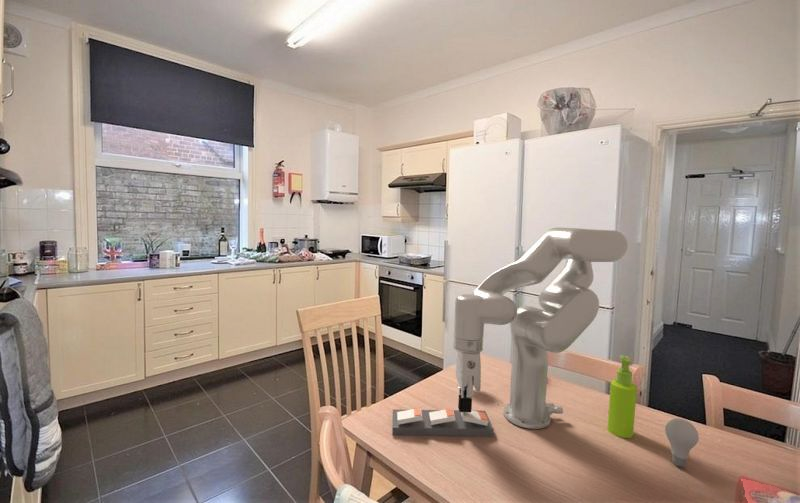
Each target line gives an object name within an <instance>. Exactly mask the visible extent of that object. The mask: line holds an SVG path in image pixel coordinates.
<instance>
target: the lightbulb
mask: <svg viewBox="0 0 800 503" xmlns="http://www.w3.org/2000/svg"><path fill="white" fill-rule="evenodd" d="M664 433H665V435H666V437H667V440H668V441H669V444H670V453H671V462H672V463H673V464H674V465H675V466H676V467H679V468H681V467H682V468H683V467H686V464H687V459H688V458H689V455H690V452H691V450H692V449H693V448H694V447H695V446H697V445H698V443H699V438H700V437H699V436H700V435H699V431H698V430H697V429H696V427H695V426H694V424H693V423H691V422H690V421H688V420H686V419H683V418H678V417H677V418H671V419H670V420H668V421H667V422H666V424H665V426H664Z"/></svg>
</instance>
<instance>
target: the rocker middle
mask: <svg viewBox="0 0 800 503" xmlns="http://www.w3.org/2000/svg"><path fill="white" fill-rule="evenodd" d="M439 410H440V411H434V412H429V415H430V421H431V425H434V424H440V423H445V422H450V421H455V415H454V412H453V410H454V409H453V407H449V408H446V409H439Z"/></svg>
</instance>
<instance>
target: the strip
mask: <svg viewBox="0 0 800 503" xmlns="http://www.w3.org/2000/svg"><path fill="white" fill-rule="evenodd" d="M406 410H407V409H398V408H397V409H395V408H394V409H393V408H392V426H391V427H392V428H391V434H392V436H424V437H425V436H428V437H429V436H431V437H436V436H437V437H440V436H441V437H494V427H493V425H492V423H491V420H490V419H489V416H488V413H487V411H486V410H476V411H477V412H482V413H485V415H486V417H487V419H488V425H487V426H486V425H481V424H477V423H472V422H468V421H463V418H462V415H461V412H459V409H458V410H457V409H456V410H454V409H453V412H454V415H455V421H450V422H445V423H440V424H434V425H431V421H430V415H429V412H434V411H440V410H441V409H421V411H422V418H423V420H420V421H415V422H410V423H404V424H399V425H398V421H397V412H400V411H406Z"/></svg>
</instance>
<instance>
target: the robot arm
mask: <svg viewBox="0 0 800 503" xmlns="http://www.w3.org/2000/svg"><path fill="white" fill-rule="evenodd" d="M627 251H628V241H627V237H625V235H624V234H623V233H622V232H620V231H618V230H610V229H593V228H591V229H590V228H589V229H587V228H577V227H576V228H575V227H553V228H549V229H547V230H546V231H545V232H544V233H543V234H542V235H541V236H540V237H539V238H538V239H537V240H536V241H535V242H534V243H533V244H532V246H530V247H529V248H528V250H527V251H525V252H524V254H523V255H521V256H520V258H518V259H517V260H516V261H514V262H512V263H509V264H507V265H506V266H504V267H502V268H500V269H498V270H496V271H495V272H493V273H491V274H490V275H489V276H487V277H486V278H485V279H484V280H483V281H482V282H481V283H480V284H479V285H478V286H476V288H475V289H474V291H473V292H472V293H471V294H468V293H464V294H459V295H457V297H456V298H455V303H454V306H455V307H454V322H453V323H454V324H453V344H452V346H453V350H455V351H456V350H457V352H456V353H457V354H456V353H455V378H456V381H457V384H458V383H459V387H458V388H459V389H458V391H459V394H458V402H457V403H458V405H457V407H458V410H459V412H471V410H472V409H473V408H472V407H473V394H474V393H473V392H474V391H473V390H474V389H475V391H476V392H480V391H481V388H482V386H481V385H482V384H481V383H482V382H481V381H482V379H481V378H482V377H481V374H482V369H481V368H482V364H481V362H482V361H481V352H483V350H484V334H485V333H484V331H485V325H496V326H497V325H498V326H503V325H504V326H505V325H507V324H509V329H510V337H511V348H512V349H511V350H512V351H511V353H512V354H511V369H510V370H511V371H510V372H511V373H510V387H509V388H510V390H509V392H510V393H509V403H508V404H506V405H505V406H504V408H503V416H504V417H505V419H506V420H508V421H509V422H510V423H512V424H513V425H515V426H518V427H519V428H520V427H521V428H524V429H530V430H539V429H544V428H547V427H548V426H550V425H551V420H552V418H551V415H553V414H556V415H557V414H558V415H563V413H564V410H563V406H559V405H558V406H555V403H554V402H547V400H546V399H547V384H548V367H549V355H548V352H550V353H553V354H559V353H562V352H564V351H565V350H567V349H568V348H570V347H571V346H572V345H573V344H574V343H575V342H576V341H577V339H578V338H579V337H580V336H581V335H582V334H583V333H585V332H584V331H585V330H586V329H587V328H589V326H590V325H591V324H592V323H593V321H594V320H595V319H596V317H597V315H598V312H599V309H600V300H599V298H598V295H597V294H596V292H594V290H592V289H590V286H592V283H593V281H594V271H593V266H592V265H593V264H592V263H614V262H617V261H619V260H621V259H622V258H623V257H624V256H625V255H626V253H627ZM564 260H566V262H565V265H564V266H563V268H562V269H561V271H560V272H559V273H558V274H556V276H555V277H553V279H552V280H550V282H549V283H548V284H547V285H546V286H545V287H544V288H543V289H542V291H541V292H540V294H539V295H538V304H539V305H540V307H541V308H538V307H536V306H530V305H524V306H520V307H517V304H516V303H515V301H514V300H513V299H511V298H510V297H509V296H506V295H505V294H506V293H509V292H510V291H512V290H515V289H519V288H524V287H529V286H534V285H538V284H540V283H542V282H544V281H545V280H546V279H547V278H548V277H549V276H550V275H551V273H552V272H553V271H554V270H555V268H557V267H558V266H559V265H560V263H562V262H563V261H564ZM472 411H473V410H472Z"/></svg>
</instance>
